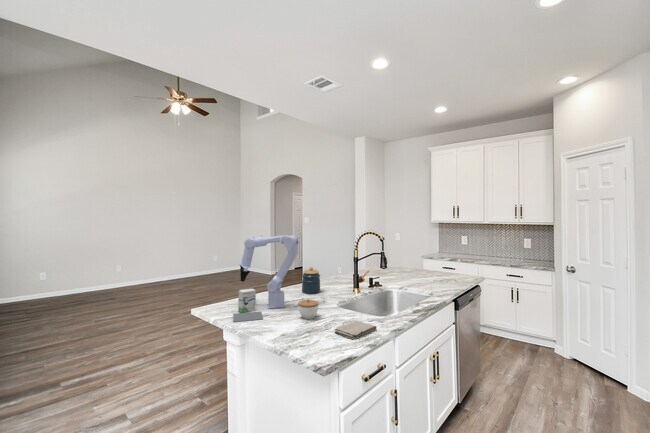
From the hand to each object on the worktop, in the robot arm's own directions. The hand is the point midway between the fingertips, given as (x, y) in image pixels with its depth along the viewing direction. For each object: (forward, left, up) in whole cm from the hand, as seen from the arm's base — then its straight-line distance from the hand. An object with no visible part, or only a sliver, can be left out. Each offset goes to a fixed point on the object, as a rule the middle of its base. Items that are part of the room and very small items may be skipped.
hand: (242, 279), depth 190 cm
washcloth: (-50, +60, -16) cm, 79 cm away
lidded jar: (-33, +34, -16) cm, 50 cm away
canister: (-47, -17, -16) cm, 53 cm away
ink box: (-2, +14, -16) cm, 21 cm away
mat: (-2, +25, -15) cm, 29 cm away
